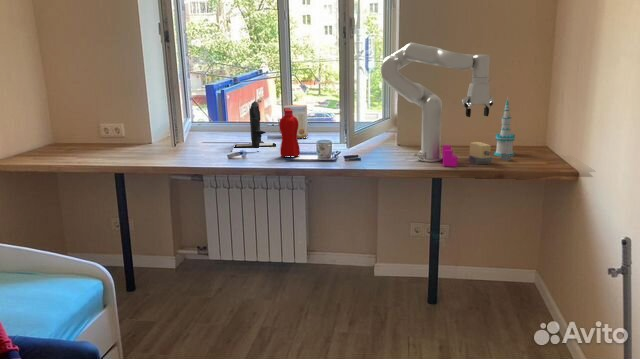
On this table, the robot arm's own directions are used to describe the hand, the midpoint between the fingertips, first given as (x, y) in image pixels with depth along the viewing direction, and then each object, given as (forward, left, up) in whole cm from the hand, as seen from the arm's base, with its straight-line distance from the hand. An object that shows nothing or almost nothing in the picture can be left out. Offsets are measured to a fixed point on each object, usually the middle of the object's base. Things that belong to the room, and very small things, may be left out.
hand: (477, 116), depth 263 cm
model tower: (+21, +6, -22) cm, 31 cm away
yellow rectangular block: (0, -5, -19) cm, 19 cm away
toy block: (-15, 0, -22) cm, 27 cm away
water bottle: (-84, +48, -22) cm, 99 cm away
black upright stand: (-96, +82, -23) cm, 128 cm away
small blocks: (+5, -5, -22) cm, 23 cm away
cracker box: (-66, +98, -22) cm, 121 cm away
